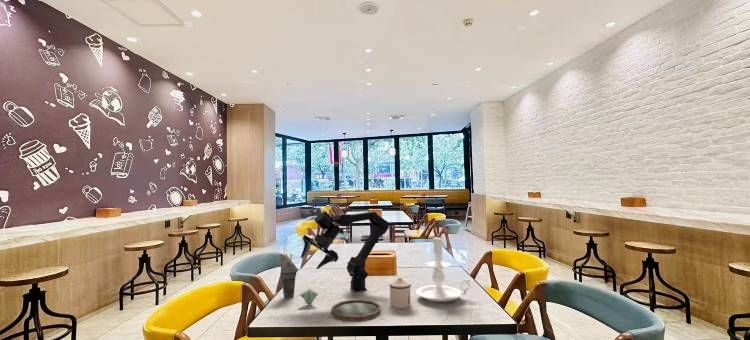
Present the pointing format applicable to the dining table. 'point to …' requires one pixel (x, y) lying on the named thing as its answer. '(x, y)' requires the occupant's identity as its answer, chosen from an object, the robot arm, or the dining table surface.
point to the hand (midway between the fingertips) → (308, 263)
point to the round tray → (356, 310)
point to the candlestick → (440, 280)
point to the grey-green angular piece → (309, 296)
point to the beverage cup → (288, 279)
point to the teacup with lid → (400, 293)
